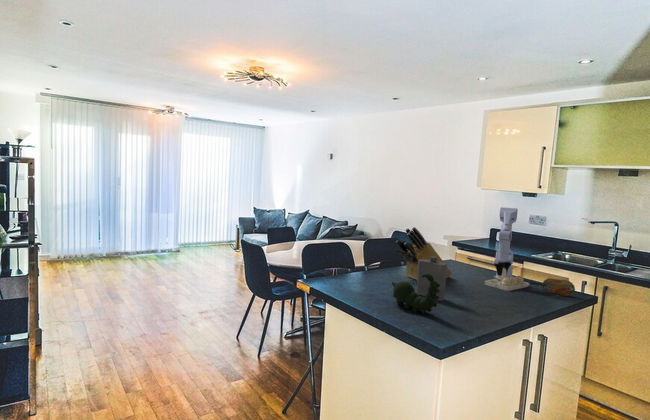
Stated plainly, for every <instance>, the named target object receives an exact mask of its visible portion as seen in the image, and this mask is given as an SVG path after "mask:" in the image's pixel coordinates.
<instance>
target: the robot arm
mask: <svg viewBox="0 0 650 420" xmlns="http://www.w3.org/2000/svg"><path fill="white" fill-rule="evenodd" d="M518 211H519V210H518V207H503V206H501V207H500V209H499V220H500V222H502V223H501V225H500V231H499V233H498V243H499V244H498V249H496V253H495V259H494V261H493V262H494V263H493V265H494V266H495V269H496V275H494V276H493V278H495V279H497V278H499V277H497V276H498V275H499V276H501V275H502V271H503V268H505V269H506V277H507V278H510V277H513V270H514V269H513V266H512V265H513V263H514V251H513V250H511V248H510V247H511V241H512V237H513V232H512V231H513V230H512V229H513V224H515V223H516V221H517V219H518V218H517V217H518Z"/></svg>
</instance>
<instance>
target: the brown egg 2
mask: <svg viewBox="0 0 650 420" xmlns="http://www.w3.org/2000/svg"><path fill="white" fill-rule="evenodd" d="M515 278H516V279H517V283H520V284H523V283H524V282H525V281H524V280H525V279H524V277H523V276H522V275H516V276H515Z"/></svg>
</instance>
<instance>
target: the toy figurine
mask: <svg viewBox="0 0 650 420" xmlns="http://www.w3.org/2000/svg"><path fill="white" fill-rule="evenodd" d="M423 277H426V278H427V279H428V281H430V282H431V283H430V287H429V288H428V292H427V294H426V297H425V296H424V297H423V296H420V295H418V294H417V293H416V290H415V288H414V286H413V285H412V284H411V283H410V282H408V281H402V280H401V281H399V282H395V281H394V282H393V281H391V285H392V286H393V292H392V294H393V295H392V297H393V299H394V298H395V300H396V301H395V302H396V304H397V305H399V306H402V305H403V306H404V308H405V309H410V308H412V312H413V313H415V314H416V313H417V312H421V313H422V314H426V312H428V313H431V312H432V310H433V308H436V307H437V306H438V303H436V300H435V299H439V297H438V296H436V294H437V293H439V292H440V291H439V289H437V288H438V287H440V284H438V283H437V282H436V281H433V280H434V278H433V276H432V275H430V274H427V273H426V274H423V275H422V278H423Z"/></svg>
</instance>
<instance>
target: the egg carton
mask: <svg viewBox="0 0 650 420" xmlns="http://www.w3.org/2000/svg"><path fill="white" fill-rule="evenodd" d="M506 278H507V277H506ZM503 279H504V278H493V279H487V280H484V284H483V285H486V286H489V287H493V288H496V289H500V290H504V291H507V292H510V291H514V290H519V289H523V288H527V287H530V282H528V281H524V283H523V284H520V283H517V285H512V284H510V286H509V287H507V286H503V285H502V280H503ZM508 279H509V278H508Z"/></svg>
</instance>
